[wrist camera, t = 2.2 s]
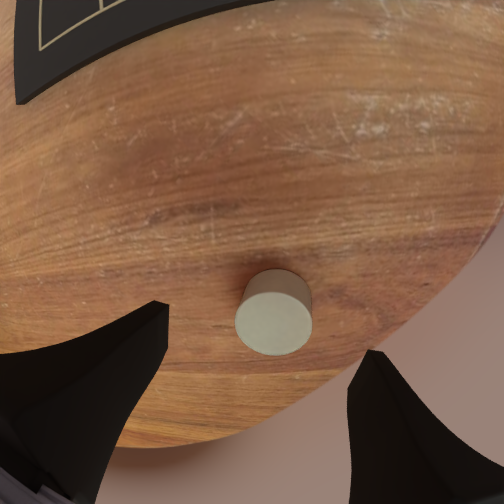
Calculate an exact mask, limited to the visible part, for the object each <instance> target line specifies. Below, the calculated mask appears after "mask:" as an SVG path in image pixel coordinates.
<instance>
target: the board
mask: <svg viewBox="0 0 504 504" xmlns="http://www.w3.org/2000/svg"><path fill="white" fill-rule="evenodd" d="M267 1H273V0H17V2H16V12H15V27H14V81H15V96H16V105H24V104H26V103H27V102H29V101H30V100H31V99H33V98H34V97H36V96H37V95H39V94H40V93H42V92H43V91H45V90H46V89H48V88H49V87H51V86H52V85H54V84H55V83H57V82H58V81H60V80H62V79H63V78H65V77H67V76H68V75H70V74H72V73H73V72H75V71H77V70H79V69H80V68H82V67H84V66H86V65H88V64H89V63H91V62H93V61H95V60H97V59H99V58H101V57H103V56H105V55H107V54H109V53H111V52H113V51H115V50H117V49H119V48H121V47H123V46H126V45H128V44H130V43H132V42H135V41H137V40H139V39H142V38H144V37H146V36H149V35H151V34H154V33H156V32H159V31H162V30H164V29H167V28H170V27H173V26H175V25H178V24H181V23H184V22H187V21H190V20H194V19H197V18H200V17H203V16H207V15H210V14H214V13H218V12H221V11H225V10H229V9H233V8H238V7H242V6H247V5H251V4H256V3H262V2H267Z"/></svg>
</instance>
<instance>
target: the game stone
mask: <svg viewBox="0 0 504 504" xmlns="http://www.w3.org/2000/svg"><path fill="white" fill-rule="evenodd" d="M235 328H236V331H237V334H238V336H239V337H240V339H241V340H242V341H243V342H244V343H245V344H246V345H247V346H248V347H249V348H251V349H253V350H255V351H257V352H259V353H262V354H266V355H285V354H288V353H291V352H294V351H296V350H297V349H299V348H300V347H302V346H303V345H304V344H305V343H306V341H307V340H308V339H309V337H310V335H311V332H312V297H311V292H310V289H309V287H308V286H307V284H306V283H305V281H304V280H303V279H302V278H300V277H299V276H298V275H296V274H294V273H292V272H290V271H287V270H282V269H271V270H266V271H263V272H260V273H259V274H257V275H255V276H254V277H253V278H252V279H251V280H250V281H249V282H248V284H247V285H246V287H245V290H244V293H243V295H242V298H241V301H240V303H239V306H238V309H237V312H236V314H235Z"/></svg>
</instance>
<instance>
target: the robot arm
mask: <svg viewBox="0 0 504 504" xmlns="http://www.w3.org/2000/svg"><path fill="white" fill-rule="evenodd" d="M168 326H169V305H168V304H165V303H162V302H158V301H155V300H154V301H151V302H149V303H147V304H146V305H144V306H142V307H140V308H138V309H136V310H134V311H133V312H131V313H129V314H127V315H125V316H123V317H121V318H119V319H117V320H115V321H114V322H112V323H110V324H107V325H105V326H103V327H101V328H99V329H96V330H94V331H92V332H90V333H88V334H85V335H83V336H80V337H77V338H74V339H72V340H69V341H66V342H63V343H59V344H55V345H51V346H47V347H43V348H39V349H35V350H29V351H23V352H16V353H7V354H0V504H95V501H96V497H97V494H98V491H99V488H100V484H101V481H102V479H103V476H104V473H105V470H106V468H107V465H108V462H109V460H110V457H111V455H112V452H113V450H114V448H115V445H116V443H117V440H118V438H119V436H120V434H121V432H122V430H123V427H124V425H125V423H126V421H127V419H128V417H129V416H130V414H131V412H132V410H133V409H134V407H135V406H136V404H137V402H138V401H139V399H140V398H141V396H142V394H143V393H144V391H145V390H146V388H147V387H148V385H149V383H150V382H151V380H152V379H153V377H154V375H155V374H156V372H157V370H158V369H159V366H160V364H161V362H162V360H163V358H164V355H165V353H166V351H167V349H168ZM347 418H348V428H349V439H350V449H351V466H352V468H351V469H352V472H351V487H350V498H349V504H504V467H502V466H500V465H499V464H497V463H495V462H493V461H491V460H489V459H488V458H486V457H484V456H483V455H481V454H480V453H478V452H477V451H475V450H474V449H472V448H471V447H469V446H468V445H467V444H466V443H464V442H463V441H462V440H461V439H460V438H458V437H457V436H456V435H455V434H454V433H452V432H451V431H450V430H449V429H448V428H447V427H446V426H445V425H444V424H443V423H442V422H441V421H440V420H439V419H438V418H436V416H435V415H434V414H432V412H431V411H430V410H429V409H428V408H427V406H426V405H425V404H424V403H423V402H422V401H421V399H420V398H419V397H418V396H417V394H416V393H415V392H414V391H413V390H412V389H411V387H410V386H409V384H408V383H407V382H406V381H405V379H404V378H403V377H402V375H401V374H400V373H399V371H398V370H397V369H396V367H395V366H394V365H393V364H392V362H391V361H390V360H389V358H388V357H387V356H386V355H385V354H384V353H383V352H381V351H375V350H369V349H368V350H367V352H366V354H365V356H364V358H363V360H362V362H361V364H360V366H359V368H358V370H357V372H356V374H355V376H354V377H353V379H352V381H351V383H350V385H349V387H348V395H347Z"/></svg>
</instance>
